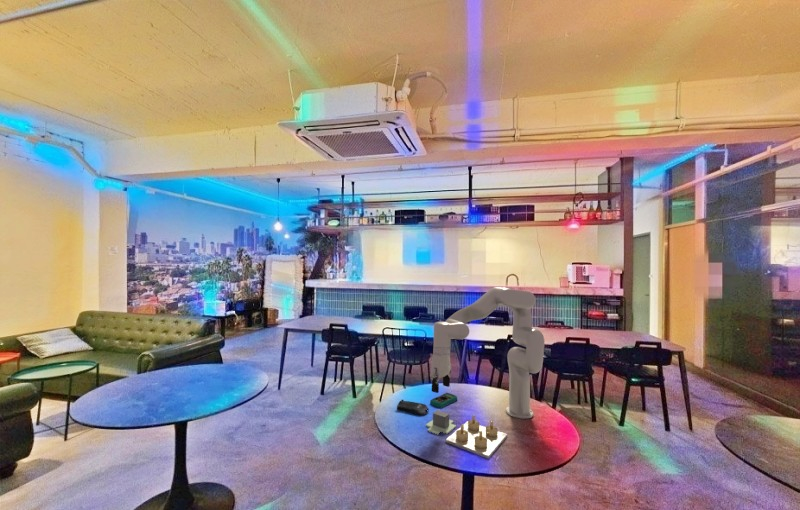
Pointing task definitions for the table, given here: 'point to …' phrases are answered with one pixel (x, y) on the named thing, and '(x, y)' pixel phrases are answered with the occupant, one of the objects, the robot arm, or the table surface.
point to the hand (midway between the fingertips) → (440, 389)
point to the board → (437, 429)
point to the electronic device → (412, 407)
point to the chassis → (477, 438)
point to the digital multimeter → (443, 400)
